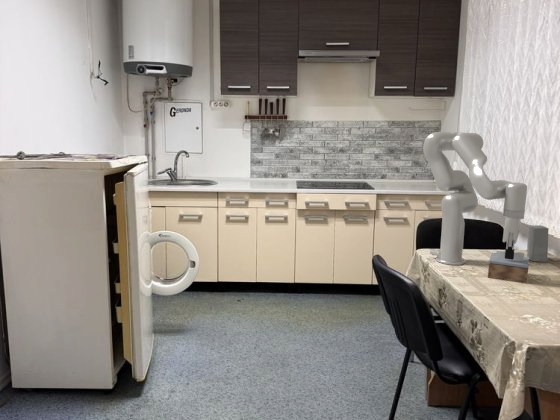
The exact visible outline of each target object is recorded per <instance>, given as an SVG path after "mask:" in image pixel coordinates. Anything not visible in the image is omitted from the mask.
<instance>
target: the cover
mask: <svg viewBox="0 0 560 420" xmlns="http://www.w3.org/2000/svg"><path fill="white" fill-rule="evenodd" d="M489 263H493V264H501V265H508V266H515V267H523V268H528V269H529V267H530V259H529V257H527V256H525V252H517V251H514V259H513V260H511V259H505V250H502V249H496V252H491V254H490V257H489V261H488V264H489Z"/></svg>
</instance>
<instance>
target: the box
mask: <svg viewBox="0 0 560 420" xmlns="http://www.w3.org/2000/svg"><path fill="white" fill-rule="evenodd" d="M528 275H529V268H523V267H515V266H508V265H501V264H493V263H489V262H488V271H487V279H494V280H499V281H506V282H512V283H513V282H515V283H519V284H528Z"/></svg>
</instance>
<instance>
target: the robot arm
mask: <svg viewBox="0 0 560 420" xmlns="http://www.w3.org/2000/svg"><path fill="white" fill-rule="evenodd" d="M483 147H484V140H483V137H482V136H481V135H480V134H478V133H476V132H475V133H474V132H461V131H460V132H459V131H435V132H432V133H430V134H429V135H427V136H426V138H425V139H424V142H423V149H422V150H423V155H424V158H425V159H426V162H427V163H428V166H429V167H430V171H431V174H432V176H433V178H434V181H435V184H436V186H437V188H438V190H439V191H441V192H445V193H447V192H450V193H447V194H445V195H444V196H443V197H442V200H441V205H440V207H441V214H442V215H441V219H442V221H441V233H440V234H441V236H440V249H439V250H434V249H430V252H429V254H431V256H436V258H435V260H436V262H438V263H440V264H444V265H448V266H449V265H450V266H459V265H460V266H461V265H464V264H466V259H465V258H463V250H464V236H465V225H466V223H465V219H464V215H463V214H465V213H470V212H473V211H474V210H476V209H477V207H478V204H479V200H478V196H477V194H476V193H478V195H479V196H480V197H481V198H482V199H483V200H486V201H487V200H488V201H491V200H493V201H494V200H501V199H504V201H503V211H502V217H503V218H504V226H503V235H502V242H503V243H506V247H505V250H504V251H505V259H511V260H513V259H514V252H515V244H517V241H518V238H519V234H520V226H521V220H523V219H525V214H526V213H525V212H526V203H527V195H528V194H527V193H528V185H527V184H526V183H523V182H512V181H508V180H504V179H502V180H491V179H490V178H489V177H488V175H487V173H486V171H485V170H484V166H485V165H486V163H487V162H488V156H487V155H486V154H485V153H484V151H483ZM443 151H455V152H456V153H457V155H458V156H459V157H460V159H461V160H462V161H463V163H464V165H465V166H466V167H467V168H468V174H467V173H466V172H465V171H464V170H461V169H460V170H459V169H455V170H454V169H453V168H452V166H451V164H450V160H449V159H448V158H447V156H446V155H445V154H444V153H443Z"/></svg>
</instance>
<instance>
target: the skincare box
mask: <svg viewBox="0 0 560 420" xmlns="http://www.w3.org/2000/svg"><path fill="white" fill-rule="evenodd" d="M527 228H528V229H527V245H526V247H527V248H526V257H529V260H531V261H532V262H542V263H543V262H544V263H546V262H548V251H549V249H548V246H549V230H550V229H549V227H547V226H544V225H537V224H536V225H527Z"/></svg>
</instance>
